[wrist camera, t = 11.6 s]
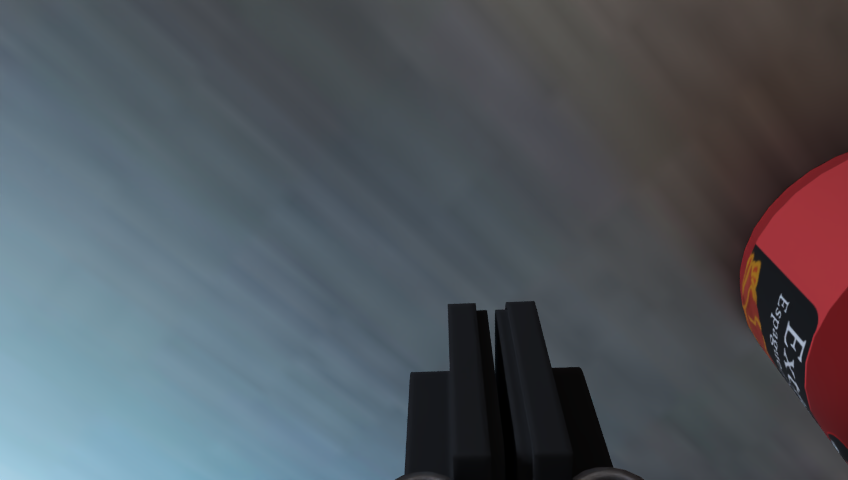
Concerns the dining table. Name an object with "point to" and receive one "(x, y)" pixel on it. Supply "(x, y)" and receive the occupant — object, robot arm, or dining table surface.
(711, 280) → the dining table surface
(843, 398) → the canned food
